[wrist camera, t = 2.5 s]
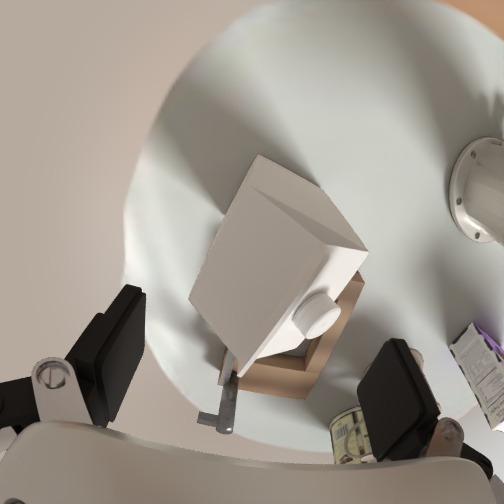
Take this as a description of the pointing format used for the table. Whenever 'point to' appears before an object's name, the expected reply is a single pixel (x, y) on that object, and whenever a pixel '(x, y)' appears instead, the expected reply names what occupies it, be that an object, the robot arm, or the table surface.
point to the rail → (227, 368)
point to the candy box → (482, 371)
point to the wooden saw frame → (295, 368)
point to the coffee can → (356, 441)
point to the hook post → (224, 408)
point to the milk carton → (275, 265)
